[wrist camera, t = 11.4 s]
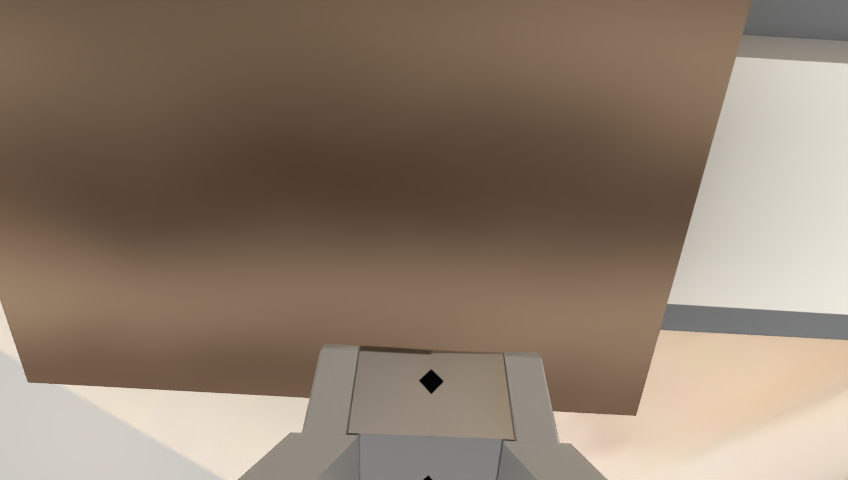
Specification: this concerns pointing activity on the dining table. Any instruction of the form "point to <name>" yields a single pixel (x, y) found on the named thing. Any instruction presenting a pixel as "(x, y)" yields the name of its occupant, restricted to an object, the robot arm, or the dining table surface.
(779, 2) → the mat
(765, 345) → the dining table surface
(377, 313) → the board
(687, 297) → the tile
